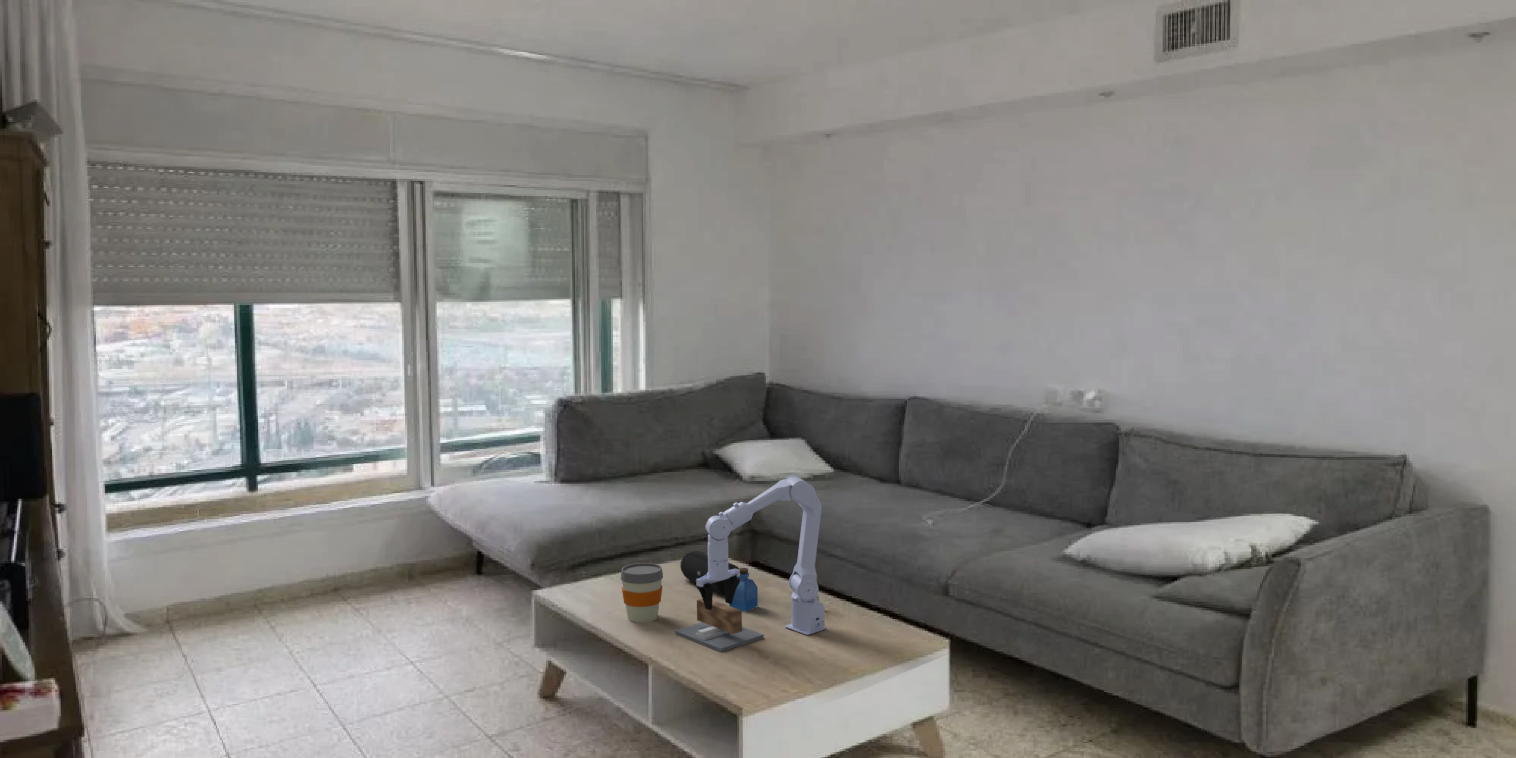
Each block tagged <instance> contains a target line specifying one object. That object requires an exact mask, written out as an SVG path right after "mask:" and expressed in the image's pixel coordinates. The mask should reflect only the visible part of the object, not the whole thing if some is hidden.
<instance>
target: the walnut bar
mask: <svg viewBox="0 0 1516 758" xmlns="http://www.w3.org/2000/svg"><path fill="white" fill-rule="evenodd" d="M696 621H699V622H700V623H702V622H703V623H706V624H709V625H711V626H714V627H717V628H719V629H722V630H725V631H727V632H730V633H733V634H735V633H739V632H742V627H743V611H742V610H739V609H736V608H733V607H730V606H729V605H727V604H724V603H723V602H722V603H721V602H718V601H715V600H713V599H712V610H708V609H705V605H704V601H703V598H702V597H701V598H698V599H697V600H696Z"/></svg>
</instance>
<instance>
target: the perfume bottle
mask: <svg viewBox="0 0 1516 758" xmlns="http://www.w3.org/2000/svg"><path fill="white" fill-rule="evenodd" d="M738 568H739V569H738V570H740V576H739V579H740V583H739V584H738V586H737V588H736V591H735V594H734V598H733V602H732V604H729V603H728V606H730V607H733V608H736V609H739V610H742V612H743V611H747V612H749V611H751V610H753V609H752V608H754V609H756V608H757V607H756V606H758V607H759V604H758V603H759V602H758V601H759V599H758V597H759V596H758V595H759V594H758V591H759V590H758V586H757V584H756V583H755V581H754V579H751V578H749V577H750V572H749V568H747V567H738ZM755 607H756V608H755ZM750 609H751V610H750ZM748 610H749V611H748Z"/></svg>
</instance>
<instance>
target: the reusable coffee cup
mask: <svg viewBox="0 0 1516 758" xmlns="http://www.w3.org/2000/svg"><path fill="white" fill-rule="evenodd" d="M663 573H664V572H663V567H662V566H661V565H660V564H657V563H650V562H649V563H648V562H638V563H637V562H636V563H630V564H627V565H625V566H622V568H621V572H620V580H621V583H622V586H621V593H622V600H623V603H624V604H625V609H626V615H627V620H629V621H630V622H633V623H640V624H641V623H649V622H650V623H651V622H653V621H655V620H657V619H658V618H659V617H658V616H659V608H660V607H659V606H660V604H661V601H662V596H663V595H662V593H663V585H662V579H663V578H664V574H663Z"/></svg>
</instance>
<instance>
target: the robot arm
mask: <svg viewBox="0 0 1516 758" xmlns="http://www.w3.org/2000/svg"><path fill="white" fill-rule="evenodd" d="M791 499H792V500H793V501H794V502H796V503H797V504H798V505H799V506H800V508H801V509H802V517H801V518H802V519H801V526H800V533H799V534H800V535H799V542H798V543H799V544H798V551H797V552H798V553H797V561H796V563H795V565H794V567H793V571H792V574H791V575H790V577H789V579H788V584H789V588H790V589H791V591H792V594H791V595H790V597H791V601H790V602H791V603H790V604H791V605H790V606H791V608H790V613H791V617H790V618H791V623H789V624H786V625H784V628H787V629H789V630H792V631H794V632H798V633H800V634H804V635H807V636H808V635H809V636H810V635H813V634H815V633H818V632H821V631H824V630H826V629H827V626H825V625H826V624H825V618H826V617H825V605H824V604H823V603H822V602H820V600H819V601H818V600H817V598H816V596H817V595H818V594H819V591H820V590H819V584H818V581H817V580H818V574H817V570H816V559H817V552H818V551H817V550H818V541H819V534H820V533H819V532H820V527H821V526H820V524H821V519H822V518H821V516H822V508H823V507H822V503H821V501H820V500H819V497H818V494H817V493H816V489H815V487H813V485H811V484H810V483H809V482H808V481H806V480H804V479H802V478H801V477H800V476H798V475H796V474H793V475H792V474H791V475H788V476H787V477H786V478H785V479H781V480H779V481H778V482H776V483H775V484H774V485H772V486H770V487H769V488H767V490H765V491H764V492H761V493H760V494H758V495H757V496H756V497H754V498H752V499H751V500H750V501H748V502H745V501H744V502H743V501H740V502H737V501H735V502H734V503H733V504H732V505H733V506H732V507H729V508H728V509H725V511H723V512H722V511H720V512H718V515H712V516H710V517H709V518H708V519H707V521H706V524H705V525H704V527H705V531H706V532H707V534H708V535H707V541H708V542H707V554H708V572H707V574H706V575H704V576H703V577H701V578H698V579H696V582H695V583H696V589H697V590H698V591H699V594H700V595H701V599H702V598H703V601H704V605H705V609H708V610H712V600H713V597H714V592H715V590H714V589H715V588H714V587H711V585H710V584H711V583H714V582H718V581H722V580H723V584H724V589H725V595H724V600H725V603H726V604H728V605H729V604H732V602H733V598H734V594H735V591H736V588H737V586H738V584H739V583H740V579H739V578H737V577H739V576H740V570H738V569H731V570H728V563H729V543H728V542H729V541H728V537H729V535H730V533H731V532H732V531H734V530H736V529H737V528H739V527H741V526H742V525H745V524H746V523H747V522H749V521H751V520H752V517H753V515H754V513H756V512H758V511H760V510H763V509H764V508H766V507H768V506H770V505H771V504H774V503H775V502H777V501H783V502H784V501H785V502H790V501H791Z"/></svg>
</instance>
